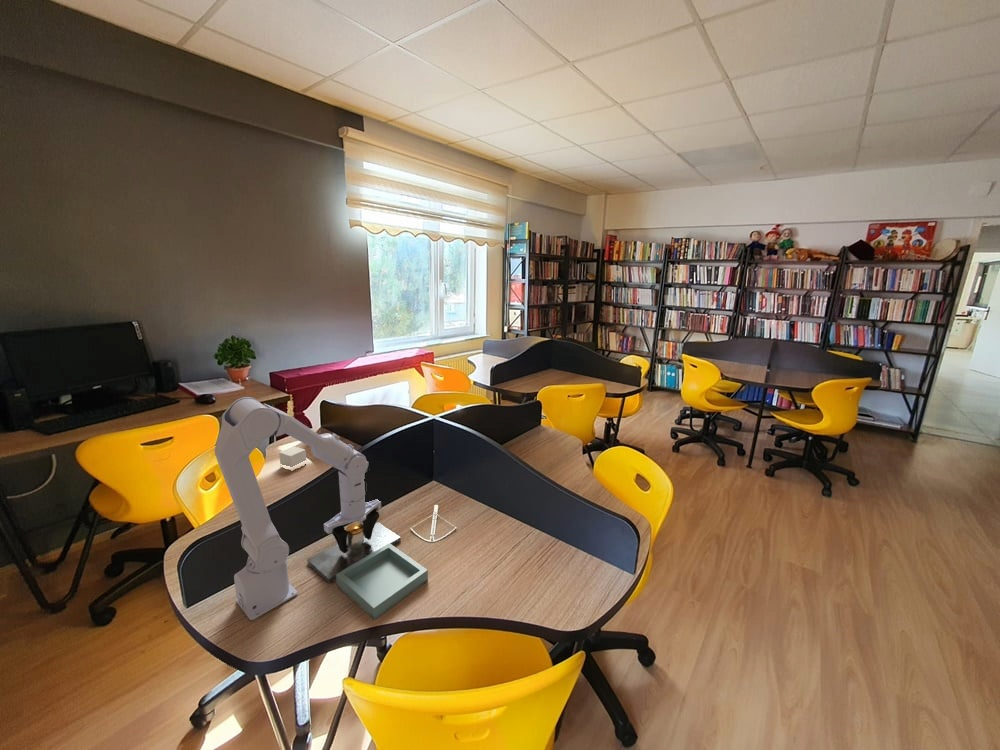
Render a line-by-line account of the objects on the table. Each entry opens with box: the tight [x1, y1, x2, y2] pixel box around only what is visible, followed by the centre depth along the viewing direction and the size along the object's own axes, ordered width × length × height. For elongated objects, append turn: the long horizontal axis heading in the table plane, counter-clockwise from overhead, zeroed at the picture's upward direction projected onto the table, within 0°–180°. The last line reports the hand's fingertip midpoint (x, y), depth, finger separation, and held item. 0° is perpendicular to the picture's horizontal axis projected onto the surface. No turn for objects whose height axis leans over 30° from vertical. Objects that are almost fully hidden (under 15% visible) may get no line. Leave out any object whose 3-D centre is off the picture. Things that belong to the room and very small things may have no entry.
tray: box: [335, 543, 429, 621], centre depth 92 cm, size 14×14×3 cm
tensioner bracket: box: [306, 521, 402, 584], centre depth 102 cm, size 20×10×1 cm, turn 141°
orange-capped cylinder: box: [345, 522, 365, 558], centre depth 102 cm, size 4×4×7 cm
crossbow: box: [409, 504, 457, 543], centre depth 115 cm, size 16×13×2 cm
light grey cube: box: [278, 445, 307, 467], centre depth 144 cm, size 6×6×6 cm
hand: (355, 544), depth 102 cm, fingers open, 6 cm apart
